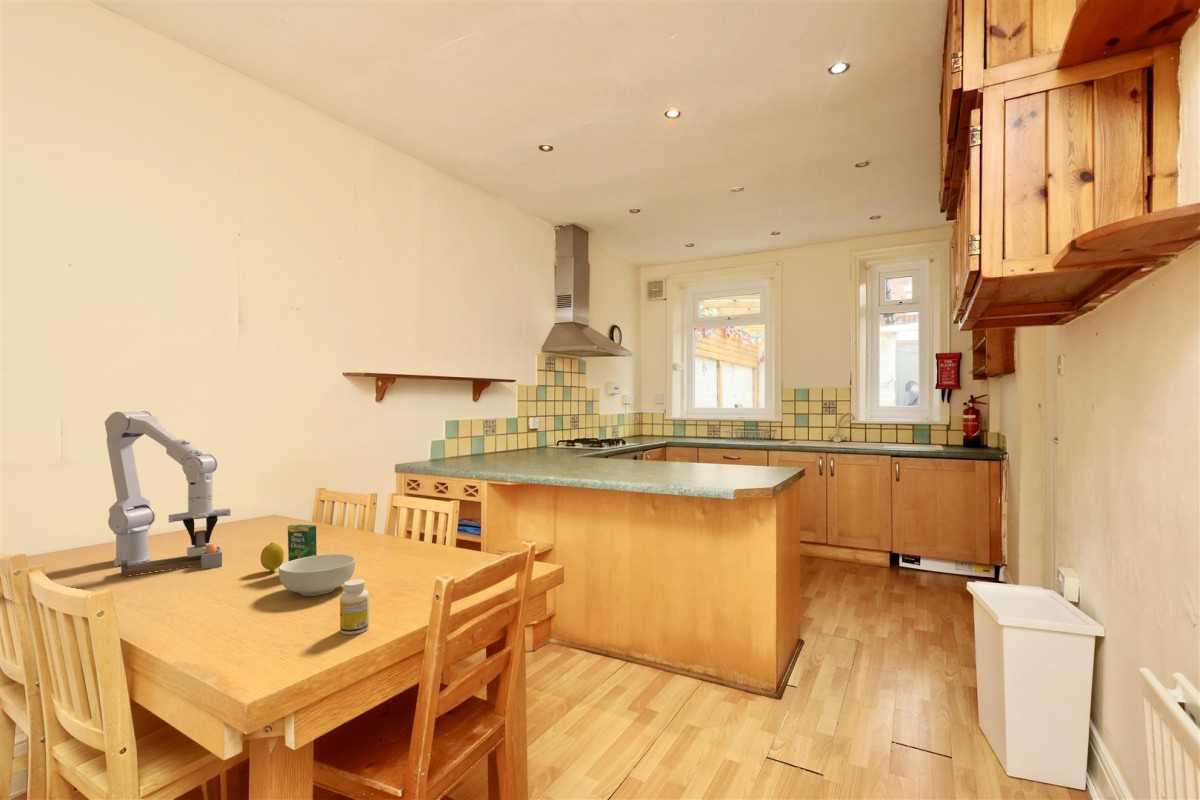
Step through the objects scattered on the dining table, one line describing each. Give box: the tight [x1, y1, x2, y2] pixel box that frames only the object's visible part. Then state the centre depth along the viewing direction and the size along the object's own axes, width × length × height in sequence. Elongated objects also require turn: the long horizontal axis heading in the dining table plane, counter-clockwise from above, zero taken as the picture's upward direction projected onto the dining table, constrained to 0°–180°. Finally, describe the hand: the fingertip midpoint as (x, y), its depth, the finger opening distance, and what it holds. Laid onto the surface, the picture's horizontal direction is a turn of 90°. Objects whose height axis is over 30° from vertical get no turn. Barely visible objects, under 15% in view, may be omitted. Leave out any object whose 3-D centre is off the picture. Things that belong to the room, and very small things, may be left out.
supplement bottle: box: [339, 578, 370, 636], centre depth 112 cm, size 5×5×10 cm
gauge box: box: [200, 548, 223, 570], centre depth 157 cm, size 5×5×4 cm
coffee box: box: [287, 523, 318, 562], centre depth 150 cm, size 8×3×13 cm, turn 68°
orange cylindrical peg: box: [206, 543, 218, 554], centre depth 157 cm, size 2×2×4 cm
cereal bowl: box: [278, 553, 356, 597], centre depth 136 cm, size 17×17×7 cm
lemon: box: [260, 542, 285, 572], centre depth 152 cm, size 6×6×8 cm
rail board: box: [120, 546, 221, 578], centre depth 156 cm, size 6×22×4 cm, turn 129°
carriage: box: [186, 529, 213, 557], centre depth 160 cm, size 5×6×6 cm
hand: (200, 543), depth 160 cm, fingers closed on carriage, 3 cm apart
